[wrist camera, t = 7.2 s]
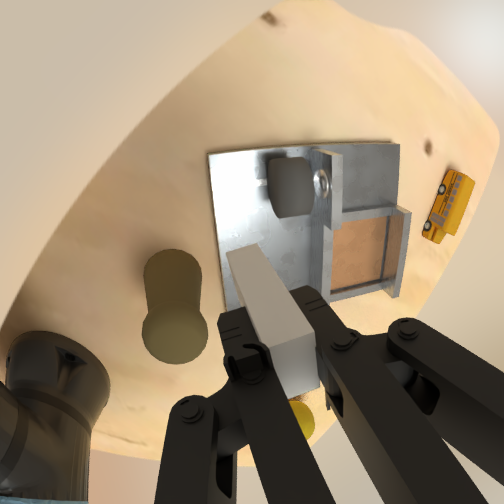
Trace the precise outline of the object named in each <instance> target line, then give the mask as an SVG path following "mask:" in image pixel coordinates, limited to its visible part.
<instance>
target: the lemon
mask: <svg viewBox="0 0 504 504" xmlns="http://www.w3.org/2000/svg"><path fill="white" fill-rule="evenodd" d="M289 403H290V405H291V407H292V409H293V412H294V414H295V416H296V418H297V421H298V423H299V425H300V427H301V429H302V432H303V434H304V436H305V438H306V440H307V439H309V438H310V437H311V435H312V434H313V432H314V429H315V422H314V417H313V414H312V412H311V410H310V409H309V408H308V406H307V405H305V404H304V403H302V402H300V401H296V400H292V401H289Z"/></svg>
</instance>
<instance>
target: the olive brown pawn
mask: <svg viewBox="0 0 504 504" xmlns="http://www.w3.org/2000/svg"><path fill="white" fill-rule="evenodd" d="M201 282H202V273H201V268H200V266H199V264H198V262H197V260H196V259H195V258H194V257H193V256H192V255H190V254H188V253H186V252H184V251H182V250H176V249H170V250H163V251H161V252H159V253H157V254H155V255H154V256H153V257H152V258H151V259H149V261H148V263H147V264H146V266H145V270H144V283H145V291H146V298H147V306H148V314H147V316H146V318H145V320H144V321H143V328H142V338H143V341H144V344H145V347H146V349H147V350H148V351H149V352H150V354H151V355H152V356H154V357H155V358H156V359H158V360H159V361H162V362H165V363H167V364H184V363H187V362H190V361H192V360H194V359H195V358H196V357H198V356H199V355H200V354H201V352H202V351H203V350H204V348H205V347H206V343H207V340H208V329H207V323H206V321H205V319H204V318H203V316H202V314H201V313H200V296H201Z"/></svg>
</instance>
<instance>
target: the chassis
mask: <svg viewBox="0 0 504 504" xmlns="http://www.w3.org/2000/svg"><path fill="white" fill-rule="evenodd" d="M207 156H208V165H209V175H210V184H211V193H212V202H213V211H214V219H215V227H216V236H217V244H218V252H219V259H220V267H221V275H222V282H223V290H224V297H225V304H226V311H227V312H228V311H231V310H234V309H237V308H240V307H241V305H240V302H239V299H238V296H237V292H236V289H235V285H234V282H233V278H232V275H231V271H230V268H229V264H228V261H227V257H226V253H225V252H228V251H232V250H235V249H238V248H241V247H245V246H248V245H251V244H255V243H257V244H258V246H259V247H260V249H261V250H262V252H263V253H264V255H265V256H266V258H267V259H268V261H269V262H270V264H271V265H272V267H273V268H274V270H275V271H276V273H277V275H278V276H279V278H280V279H281V281H282V282H283V284H284V285H285V287H286V288H287V290H288V291H290V290H293V289H296V288H299V287H302V286H305V285H308V286H310V287H312V288H314V289H316V290H317V291H318V292H319V293H320V294H321V296H322V297H323V299H325V301H326V302H327V303H328V305H329V303H330V302H334V301H339V300H343V299H347V298H351V297H355V296H359V295H363V294H366V293H370V292H374V291H378V290H382V289H383V290H384V291H385V292H386V293H387V294H388V295H389V296H390V297H391V298H396V297H399V293H400V288H401V282H402V277H403V271H404V265H405V259H406V253H407V246H408V239H409V231H410V223H411V214H412V212H410V211H408V210H406V209H404V208H402V207H400V206H399V205H397V196H398V181H399V160H400V144H397V143H393V142H349V143H319V144H300V145H284V146H271V147H260V148H249V149H239V150H230V151H221V152H213V153H207ZM288 157H303V158H304V159H305V160H306V161H307V163H308V164H309V166H310V169H311V172H312V175H313V180H314V188H315V199H314V205H313V209H312V211H311V213H310V214H308V215H303V216H296V217H288V218H281V219H279V218H277V216H276V215H275V213H274V211H273V209H272V206H271V202H270V198H269V193H268V183H267V171H268V165H269V162H270V160H271V159H276V158H288Z"/></svg>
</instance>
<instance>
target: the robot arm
mask: <svg viewBox="0 0 504 504" xmlns="http://www.w3.org/2000/svg"><path fill="white" fill-rule="evenodd" d="M225 253H226V257H227V261H228V264H229V268H230V271H231V275H232V278H233V282H234V285H235V289H236V292H237V296H238V299H239V302H240V305H241V307H240V308H237V309H234V310H231V311H228V312H224V313H221V314H220V316H219V319H218V322H217V326H218V330H219V333H220V337H221V341H222V345H223V349H224V353H225V356H224V359H223V364H224V367H225V369H226V372H227V374H228V376H229V378H228V381H227V382H226V384H225V385H224V386H223V388H222V389H220V390H219V391H218V392H216V393H215V394H213V395H211V396H210V397H208V398H206V397H203V396H200V395H191V396H187V397H184V398H183V399H181V400H179V401H178V402H177V403H176V404H175V405H174V406H173V407H172V409H171V412H170V414H169V420H168V425H167V430H166V436H165V441H164V447H163V452H162V458H161V464H160V470H159V476H158V482H157V489H156V495H155V501H154V504H236V491H237V451H238V450H240V449H241V448H243V447H244V446H246V445H247V444H249V446H250V449H251V452H252V455H253V458H254V462H255V465H256V468H257V471H258V474H259V477H260V480H261V483H262V486H263V489H264V492H265V495H266V498H267V501H268V504H336V503H335V501H334V499H333V496H332V494H331V492H330V490H329V488H328V486H327V484H326V482H325V479H324V477H323V475H322V473H321V471H320V469H319V467H318V464H317V462H316V460H315V458H314V456H313V454H312V452H311V449H310V447H309V445H308V443H307V440H306V438H305V436H304V434H303V432H302V429H301V427H300V425H299V423H298V421H297V418H296V416H295V414H294V412H293V409H292V407H291V405H290V403H289V401H288V399H290V398H293V397H295V396H298V395H301V394H304V393H306V392H309V391H311V390H314V389H317V388H319V387H320V380H321V382H322V384H323V385H324V387H325V397H326V407H327V411H328V410H330V406H331V408H332V409H333V411H334V413H335V415H336V417H337V419H338V420H339V422H340V424H341V426H342V428H343V429H344V431H345V433H346V435H347V437H348V438H349V440H350V442H351V444H352V446H353V448H354V449H355V451H356V453H357V455H358V457H359V458H360V460H361V462H362V464H363V466H364V467H365V469H366V471H367V473H368V475H369V477H370V478H371V480H372V482H373V484H374V485H375V487H376V489H377V491H378V493H379V495H380V496H381V498H382V500H383V502H384V503H385V504H488V502H487V501H486V499H485V498H484V497H483V495H482V494H481V492H480V491H479V489H478V488H477V486H476V485H475V484H474V482H473V481H472V480H471V478H470V477H469V475H468V474H467V472H466V471H465V470H464V468H463V467H462V466H461V464H460V463H459V461H458V460H457V458H456V457H455V456H454V454H453V453H452V452H451V450H450V449H449V448H448V446H447V445H446V443H445V442H444V441H443V440H442V438H443V439H444V440H445V441H446V442H448V443H449V444H450V445H451V446H453V447H454V448H455V449H457V450H458V451H459V452H460V453H462V454H463V455H464V456H465V457H467V458H468V459H469V460H470V461H472V462H473V463H475V464H476V465H477V466H478V467H479V468H481V469H482V470H483V471H485V472H486V473H487V474H489V475H490V476H491V477H492V478H494V479H495V480H496V481H498V482H499V483H500V484H502V485H503V486H504V373H503V372H502V371H500V370H499V369H497V368H496V367H494V366H492V365H491V364H489V363H488V362H486V361H485V360H483V359H481V358H480V357H478V356H477V355H475V354H474V353H472V352H470V351H469V350H467V349H465V348H464V347H462V346H461V345H459V344H457V343H456V342H454V341H453V340H451V339H449V338H448V337H446V336H444V335H443V334H441V333H440V332H438V331H436V330H435V329H433V328H431V327H430V326H428V325H426V324H425V323H423V322H421V321H419V320H417V319H415V318H407V317H406V318H401V319H398V320H396V321H394V322H392V324H391V325H390V326H389V328H388V333H382V334H376V335H361V334H360V333H359V332H358V331H356V330H353V329H350V328H347V327H346V326H345V325H344V324H343V322H342V321H341V320H340V318H339V317H338V316H337V315H336V313H335V312H334V311H333V310H332V308H331V307H330V306H329V305H328V303H327V302H326V301H325V299H323V297H322V296H321V294H320V293H319V292H318V291H317V290H316V289H314V288H312V287H310V286H308V285H305V286H302V287H299V288H296V289H293V290H290V291H288V290H287V288H286V287H285V285H284V284H283V282H282V281H281V279H280V278H279V276H278V275H277V273H276V271H275V270H274V268H273V267H272V265H271V264H270V262H269V261H268V259H267V258H266V256H265V255H264V253H263V252H262V250H261V249H260V247H259V246H258V244H257V243H255V244H251V245H248V246H245V247H241V248H238V249H235V250H232V251H228V252H225ZM6 368H7V369H6V379H5V385H4V384H3V383H2V382H1V381H0V504H88V476H89V456H90V441H91V432H92V428H93V427H94V425H95V423H96V421H97V419H98V418H99V416H100V414H101V412H102V410H103V408H104V407H105V406H106V404H107V402H108V399H109V394H110V379H109V376H108V373H107V371H106V369H105V368H104V366H103V365H102V363H101V362H100V361H99V360H98V359H97V357H96V356H95V355H93V354H92V353H91V352H90V351H89V350H88V349H86V348H85V347H83V346H82V345H80V344H79V343H77V342H75V341H74V340H71V339H69V338H67V337H65V336H62V335H59V334H56V333H52V332H46V331H32V332H27V333H24V334H22V335H20V336H18V337H17V338H16V339H15V340H14V341H13V343H12V345H11V347H10V349H9V351H8V354H7V358H6Z"/></svg>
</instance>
